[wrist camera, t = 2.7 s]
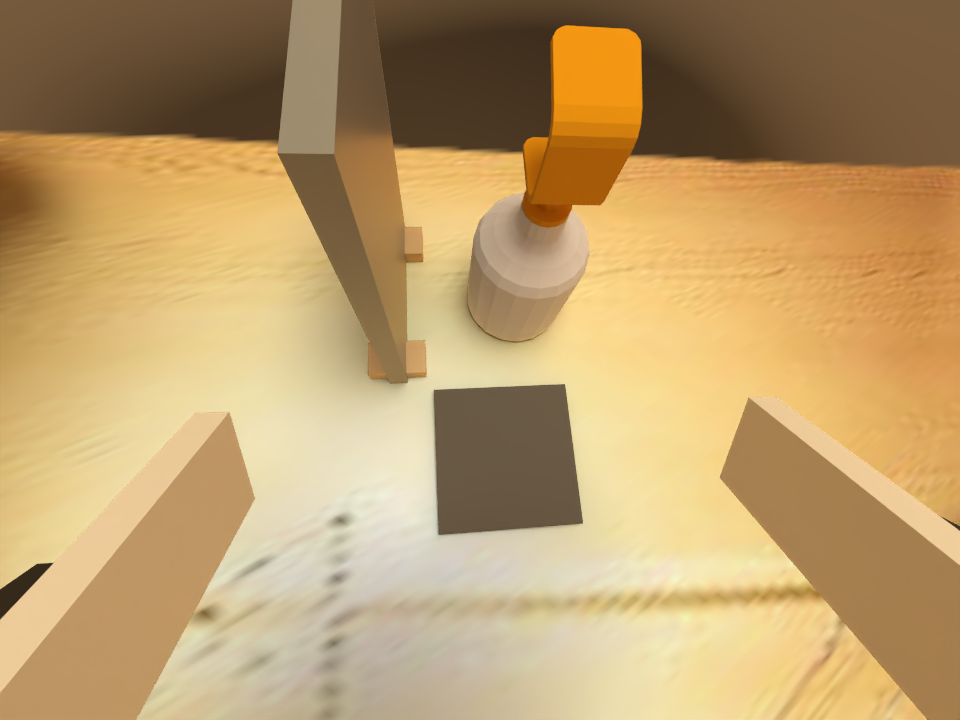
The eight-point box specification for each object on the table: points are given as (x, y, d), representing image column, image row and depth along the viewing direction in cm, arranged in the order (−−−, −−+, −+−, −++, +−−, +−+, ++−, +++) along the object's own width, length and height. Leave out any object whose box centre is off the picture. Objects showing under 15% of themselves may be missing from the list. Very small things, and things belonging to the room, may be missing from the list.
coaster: (439, 533, 34) (439, 534, 34) (434, 392, 38) (434, 389, 37) (580, 522, 35) (582, 523, 35) (562, 386, 39) (564, 384, 38)
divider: (370, 383, 38) (216, 152, 12) (372, 231, 42) (265, -168, 17) (426, 381, 38) (392, 154, 12) (422, 231, 43) (391, -157, 17)
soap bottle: (551, 260, 43) (679, -13, 20) (560, 342, 40) (722, 139, 17) (465, 260, 42) (493, -26, 19) (469, 344, 40) (506, 132, 16)
